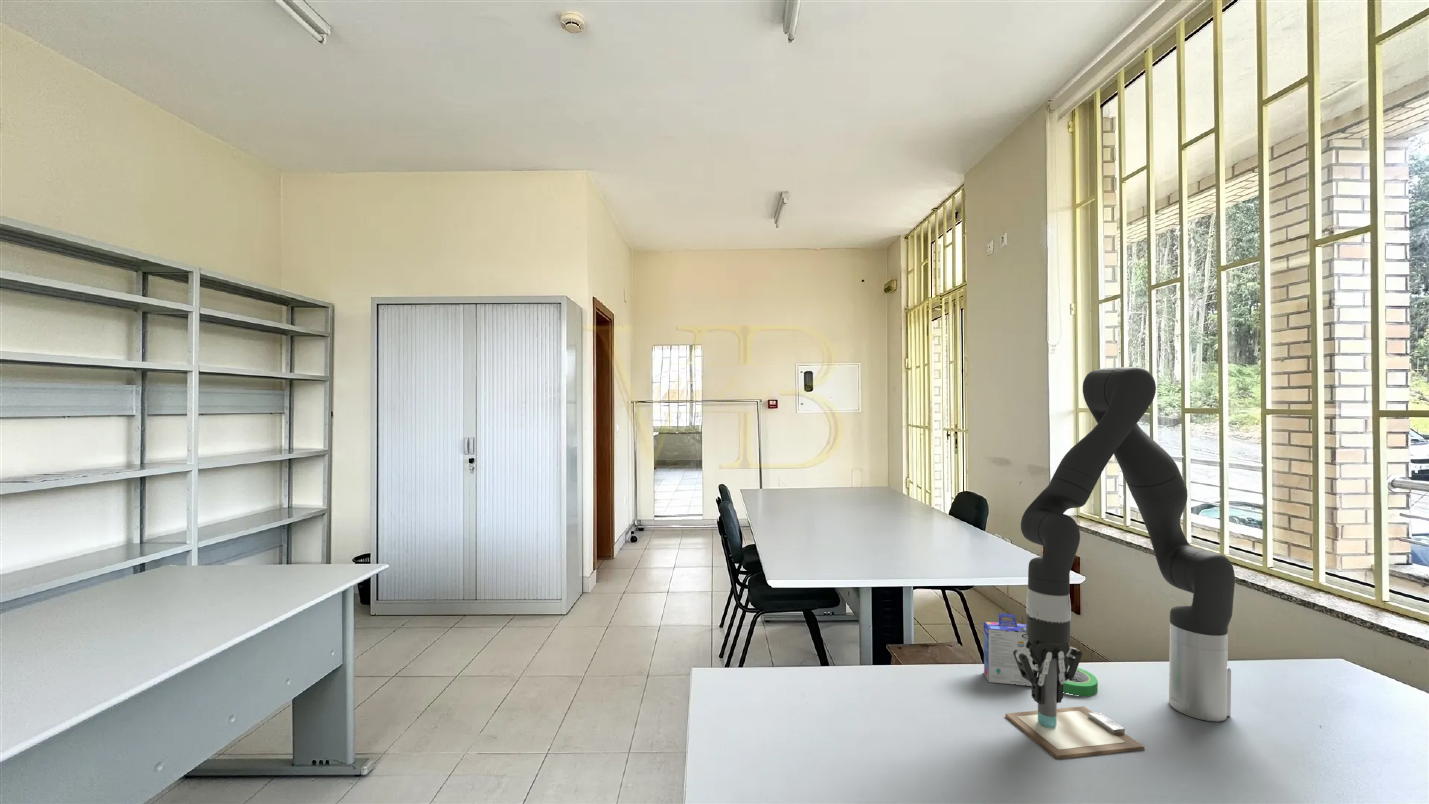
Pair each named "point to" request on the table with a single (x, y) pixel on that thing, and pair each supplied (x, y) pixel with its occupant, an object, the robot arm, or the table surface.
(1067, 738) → the clipboard
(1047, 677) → the marker
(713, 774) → the table surface
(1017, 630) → the ink cartridge box
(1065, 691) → the tape roll
